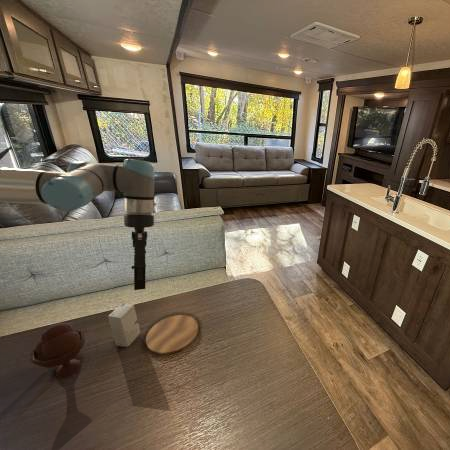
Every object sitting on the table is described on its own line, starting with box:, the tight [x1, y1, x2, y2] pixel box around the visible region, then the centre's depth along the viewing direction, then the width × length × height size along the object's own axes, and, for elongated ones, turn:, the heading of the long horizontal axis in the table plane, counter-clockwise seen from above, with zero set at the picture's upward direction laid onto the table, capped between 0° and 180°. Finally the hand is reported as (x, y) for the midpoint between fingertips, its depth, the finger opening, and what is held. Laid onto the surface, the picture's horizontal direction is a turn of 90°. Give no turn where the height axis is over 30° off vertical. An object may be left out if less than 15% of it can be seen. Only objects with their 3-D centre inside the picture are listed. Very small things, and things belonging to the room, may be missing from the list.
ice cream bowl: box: [30, 322, 86, 379], centre depth 68 cm, size 11×11×15 cm
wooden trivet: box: [145, 314, 199, 355], centre depth 85 cm, size 16×16×1 cm
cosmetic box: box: [107, 303, 141, 348], centre depth 79 cm, size 6×4×12 cm
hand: (139, 280), depth 76 cm, fingers open, 13 cm apart
